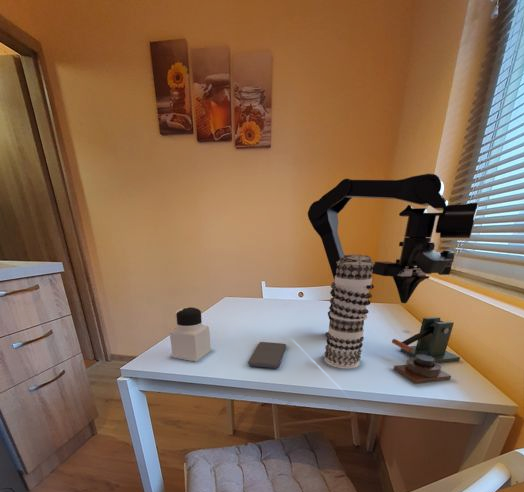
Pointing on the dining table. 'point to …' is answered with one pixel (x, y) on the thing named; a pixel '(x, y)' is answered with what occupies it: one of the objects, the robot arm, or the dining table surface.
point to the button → (424, 360)
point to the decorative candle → (348, 310)
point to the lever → (416, 337)
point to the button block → (421, 372)
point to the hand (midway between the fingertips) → (403, 302)
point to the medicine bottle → (189, 335)
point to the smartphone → (267, 355)
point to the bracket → (434, 342)
